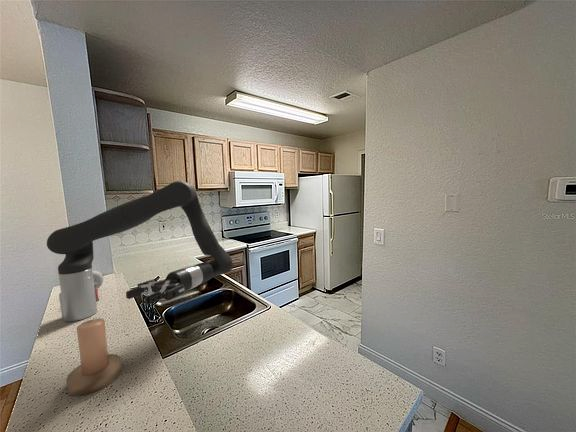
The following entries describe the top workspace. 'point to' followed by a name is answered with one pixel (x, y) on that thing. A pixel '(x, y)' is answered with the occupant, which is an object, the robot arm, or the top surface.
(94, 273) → the donut
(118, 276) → the top surface
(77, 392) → the brown disc
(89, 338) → the tan rounded post
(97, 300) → the lighter
